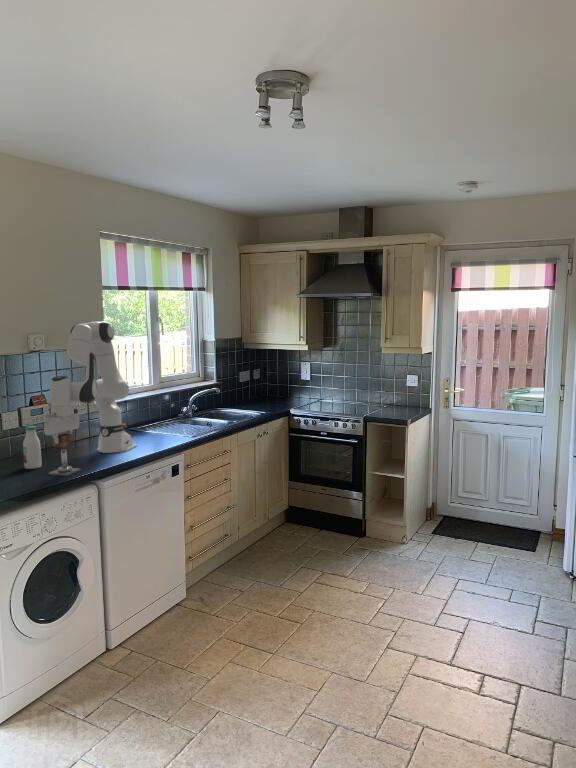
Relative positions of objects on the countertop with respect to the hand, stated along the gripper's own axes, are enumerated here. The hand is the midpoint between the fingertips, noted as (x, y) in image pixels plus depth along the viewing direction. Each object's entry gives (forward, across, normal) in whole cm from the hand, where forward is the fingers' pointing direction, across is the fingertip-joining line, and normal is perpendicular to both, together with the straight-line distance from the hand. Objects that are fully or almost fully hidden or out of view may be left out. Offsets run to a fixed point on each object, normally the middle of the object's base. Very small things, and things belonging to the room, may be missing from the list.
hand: (62, 441), depth 262 cm
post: (+14, 0, 0) cm, 15 cm away
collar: (+2, 0, 0) cm, 2 cm away
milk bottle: (+15, +6, +23) cm, 28 cm away
